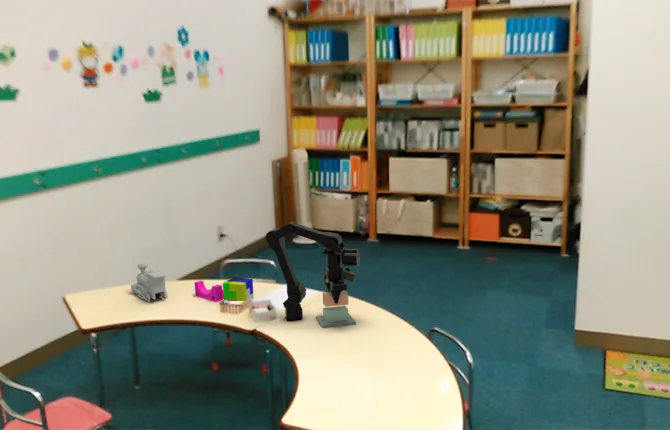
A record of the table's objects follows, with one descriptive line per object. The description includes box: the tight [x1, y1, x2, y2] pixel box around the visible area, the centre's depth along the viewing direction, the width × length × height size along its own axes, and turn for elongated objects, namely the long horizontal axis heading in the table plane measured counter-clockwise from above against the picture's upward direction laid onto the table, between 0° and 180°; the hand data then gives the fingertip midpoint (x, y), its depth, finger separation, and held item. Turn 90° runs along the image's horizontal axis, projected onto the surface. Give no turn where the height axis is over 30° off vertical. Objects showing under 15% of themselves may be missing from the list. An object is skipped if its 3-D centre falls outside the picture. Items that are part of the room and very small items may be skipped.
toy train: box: [130, 262, 168, 303], centre depth 297 cm, size 11×28×15 cm, turn 38°
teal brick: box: [322, 305, 349, 322], centre depth 258 cm, size 10×5×4 cm, turn 104°
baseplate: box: [315, 312, 357, 329], centre depth 258 cm, size 14×12×1 cm
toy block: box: [194, 280, 224, 303], centre depth 293 cm, size 15×6×8 cm, turn 52°
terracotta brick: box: [322, 290, 349, 308], centre depth 257 cm, size 10×5×4 cm, turn 104°
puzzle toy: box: [222, 276, 255, 301], centre depth 286 cm, size 10×10×10 cm
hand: (334, 301), depth 257 cm, fingers closed on terracotta brick, 5 cm apart
